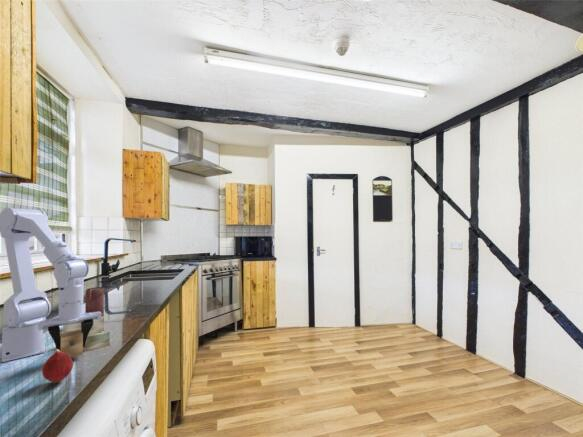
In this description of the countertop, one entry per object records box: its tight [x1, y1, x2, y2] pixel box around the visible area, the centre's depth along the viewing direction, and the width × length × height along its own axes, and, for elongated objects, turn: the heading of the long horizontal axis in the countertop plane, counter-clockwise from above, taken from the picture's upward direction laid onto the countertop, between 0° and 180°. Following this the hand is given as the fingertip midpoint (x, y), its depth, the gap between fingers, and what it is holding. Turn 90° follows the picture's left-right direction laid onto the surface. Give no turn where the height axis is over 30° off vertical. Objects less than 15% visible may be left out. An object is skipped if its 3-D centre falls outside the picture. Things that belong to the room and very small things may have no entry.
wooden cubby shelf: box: [62, 316, 111, 352], centre depth 94 cm, size 11×10×7 cm
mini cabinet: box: [60, 329, 84, 359], centre depth 84 cm, size 5×6×6 cm
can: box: [84, 286, 105, 318], centre depth 116 cm, size 6×6×14 cm
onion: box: [41, 348, 74, 384], centre depth 71 cm, size 6×6×8 cm
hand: (70, 349), depth 84 cm, fingers closed on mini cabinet, 5 cm apart
